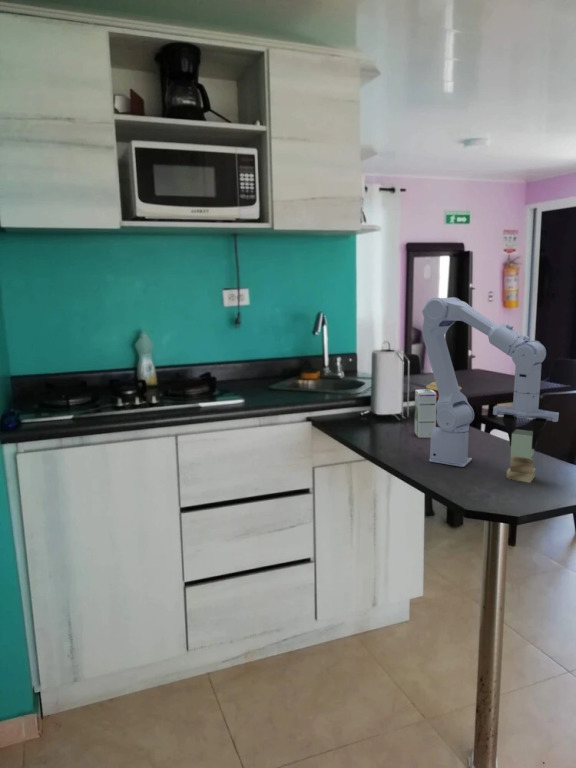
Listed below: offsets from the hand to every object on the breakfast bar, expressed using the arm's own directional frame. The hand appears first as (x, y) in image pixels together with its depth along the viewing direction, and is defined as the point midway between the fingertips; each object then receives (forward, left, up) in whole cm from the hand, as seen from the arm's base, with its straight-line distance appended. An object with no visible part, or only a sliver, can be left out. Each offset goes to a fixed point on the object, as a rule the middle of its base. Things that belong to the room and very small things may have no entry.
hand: (522, 446), depth 137 cm
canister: (-32, +37, -8) cm, 50 cm away
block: (0, 0, -2) cm, 2 cm away
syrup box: (-34, +26, -8) cm, 44 cm away
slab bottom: (0, 0, -8) cm, 8 cm away
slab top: (0, 0, -6) cm, 6 cm away
